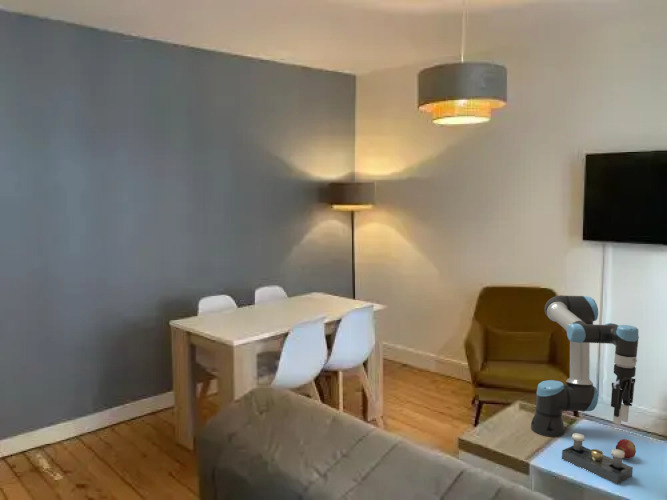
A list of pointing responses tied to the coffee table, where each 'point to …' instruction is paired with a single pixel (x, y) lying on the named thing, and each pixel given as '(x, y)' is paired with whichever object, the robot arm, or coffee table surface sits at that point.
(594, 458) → the brass dial
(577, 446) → the knob
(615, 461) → the knob
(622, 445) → the fruit
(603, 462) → the panel
